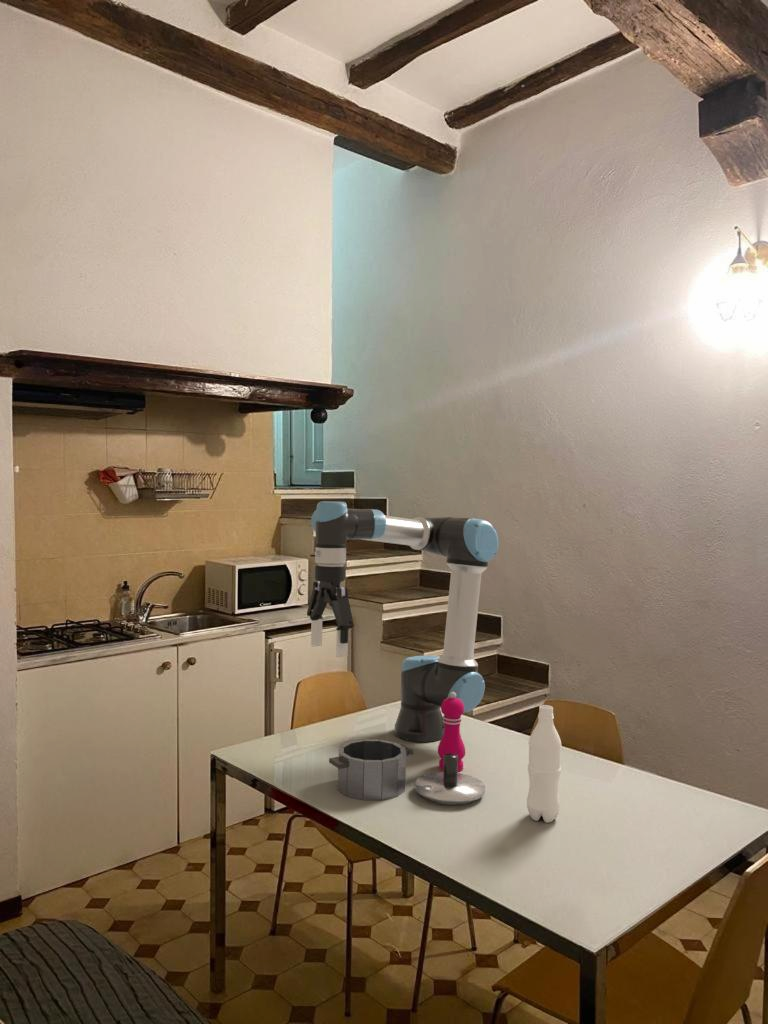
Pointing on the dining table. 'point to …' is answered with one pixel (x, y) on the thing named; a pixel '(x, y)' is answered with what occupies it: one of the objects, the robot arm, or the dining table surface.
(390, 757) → the pot
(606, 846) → the dining table surface
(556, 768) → the water bottle
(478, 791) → the lid
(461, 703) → the pepper mill
